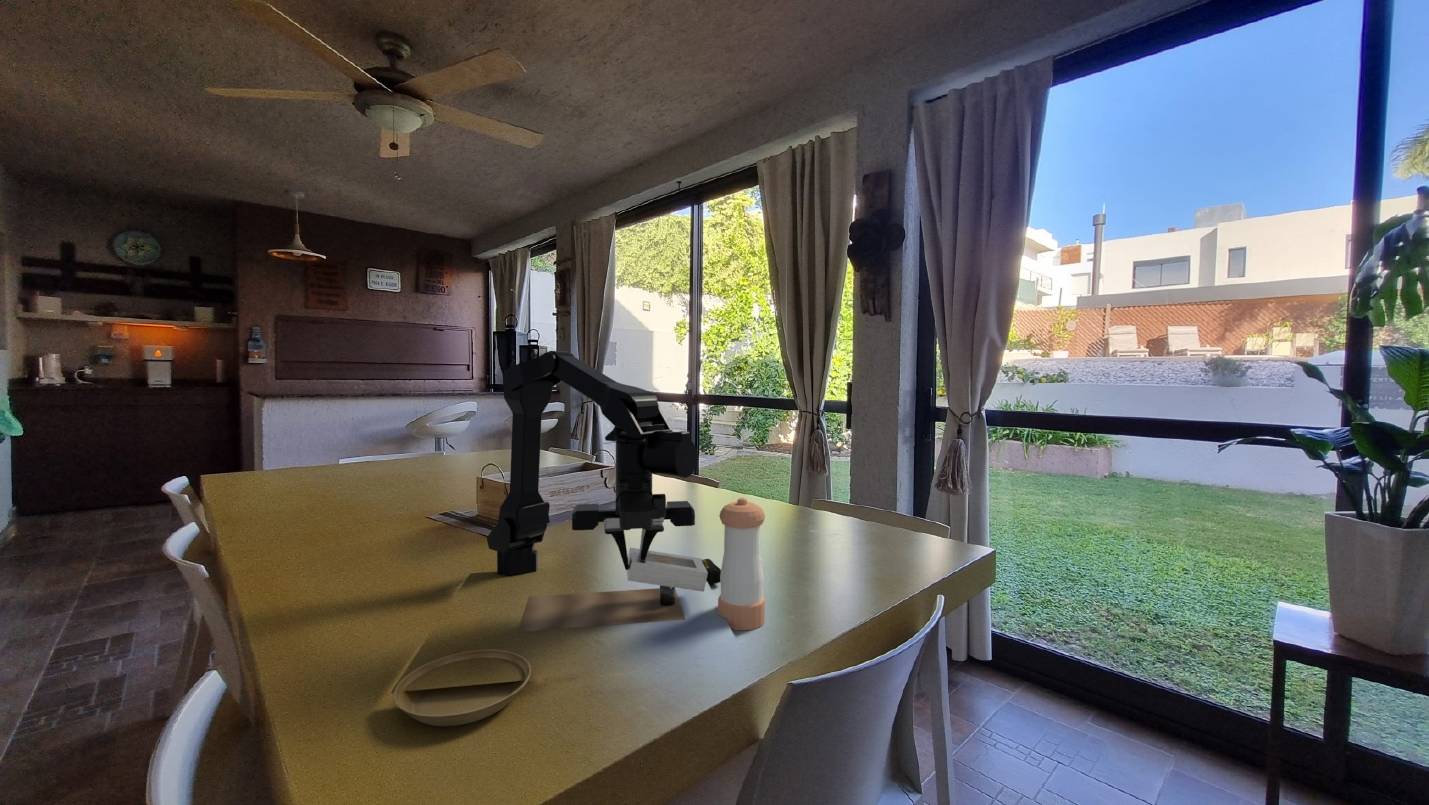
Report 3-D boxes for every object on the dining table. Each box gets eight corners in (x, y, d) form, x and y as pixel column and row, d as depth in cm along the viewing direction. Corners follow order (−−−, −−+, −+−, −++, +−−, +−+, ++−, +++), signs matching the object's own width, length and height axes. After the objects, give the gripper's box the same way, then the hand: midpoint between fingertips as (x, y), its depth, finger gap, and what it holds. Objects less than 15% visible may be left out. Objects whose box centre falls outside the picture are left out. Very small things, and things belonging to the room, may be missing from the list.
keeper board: (517, 642, 81) (517, 631, 81) (529, 605, 94) (529, 596, 94) (685, 628, 86) (685, 619, 86) (674, 595, 99) (674, 587, 98)
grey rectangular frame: (627, 580, 87) (631, 561, 87) (626, 565, 94) (629, 547, 94) (703, 591, 89) (707, 572, 89) (696, 575, 96) (700, 558, 96)
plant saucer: (385, 692, 69) (385, 671, 69) (510, 657, 78) (509, 638, 77) (404, 759, 57) (404, 733, 57) (549, 708, 66) (549, 686, 66)
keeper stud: (660, 606, 90) (660, 577, 90) (659, 600, 93) (659, 572, 92) (675, 605, 91) (675, 576, 91) (673, 599, 93) (673, 571, 93)
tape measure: (723, 588, 103) (724, 567, 103) (687, 592, 101) (687, 571, 100) (712, 575, 109) (712, 556, 109) (677, 578, 107) (677, 559, 107)
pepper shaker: (757, 633, 84) (758, 505, 83) (711, 626, 87) (712, 501, 86) (769, 614, 91) (771, 495, 90) (726, 607, 94) (727, 492, 93)
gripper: (569, 482, 80) (570, 591, 81) (701, 478, 84) (700, 583, 84) (573, 468, 91) (574, 565, 92) (690, 466, 94) (689, 559, 95)
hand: (633, 568), depth 90 cm, fingers closed on grey rectangular frame, 2 cm apart
